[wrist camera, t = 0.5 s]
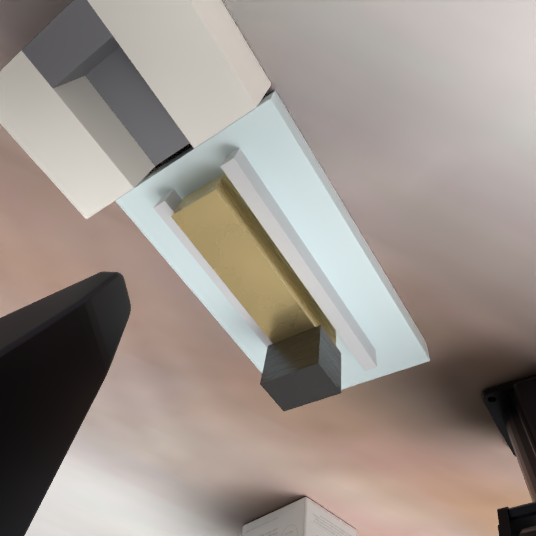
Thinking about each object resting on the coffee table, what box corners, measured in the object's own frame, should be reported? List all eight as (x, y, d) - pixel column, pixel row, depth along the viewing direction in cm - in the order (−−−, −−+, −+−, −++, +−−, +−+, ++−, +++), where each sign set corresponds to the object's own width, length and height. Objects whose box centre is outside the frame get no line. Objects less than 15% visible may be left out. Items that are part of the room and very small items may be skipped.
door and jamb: (426, 342, 26) (438, 396, 22) (292, 387, 29) (285, 440, 26) (184, -61, 17) (145, -71, 13) (34, 75, 20) (-26, 95, 17)
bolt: (341, 326, 23) (341, 393, 20) (292, 345, 25) (283, 411, 21) (231, 168, 19) (204, 214, 16) (179, 199, 21) (143, 249, 17)
